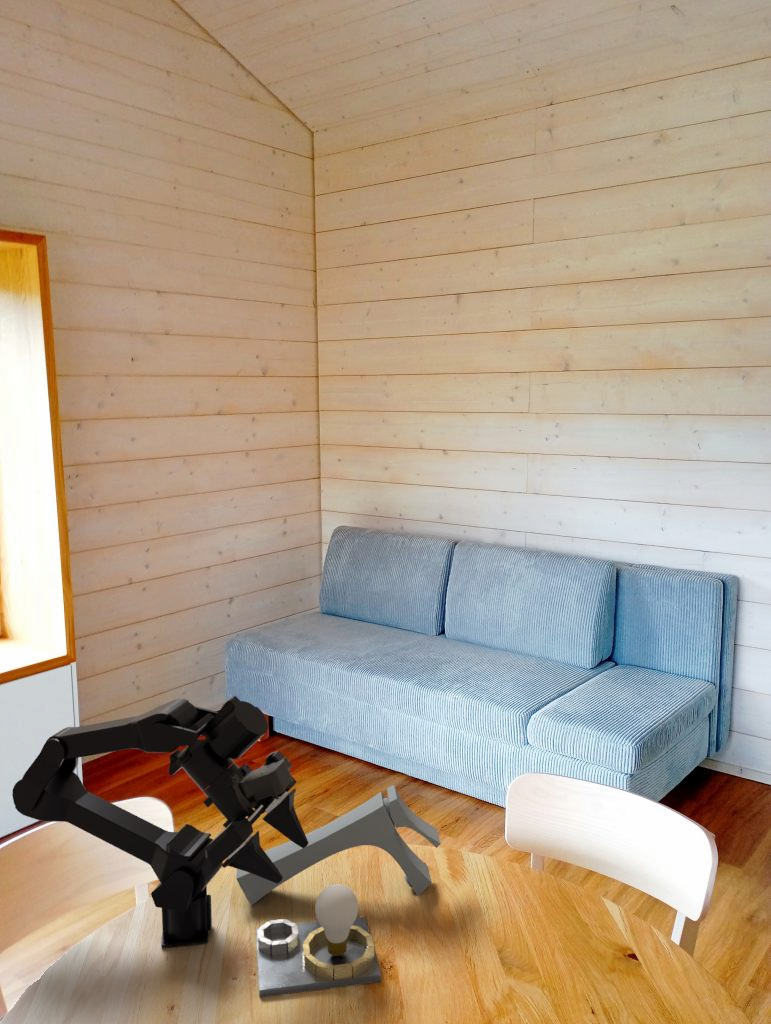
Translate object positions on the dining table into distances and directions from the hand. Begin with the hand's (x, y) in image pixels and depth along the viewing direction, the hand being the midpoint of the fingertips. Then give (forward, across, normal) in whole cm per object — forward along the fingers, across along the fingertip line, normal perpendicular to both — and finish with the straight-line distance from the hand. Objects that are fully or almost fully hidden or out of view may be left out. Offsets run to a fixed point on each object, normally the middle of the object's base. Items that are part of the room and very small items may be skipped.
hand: (293, 863), depth 117 cm
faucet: (+10, +16, +9) cm, 21 cm away
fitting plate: (+12, 0, +8) cm, 14 cm away
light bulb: (+13, 0, +5) cm, 14 cm away
